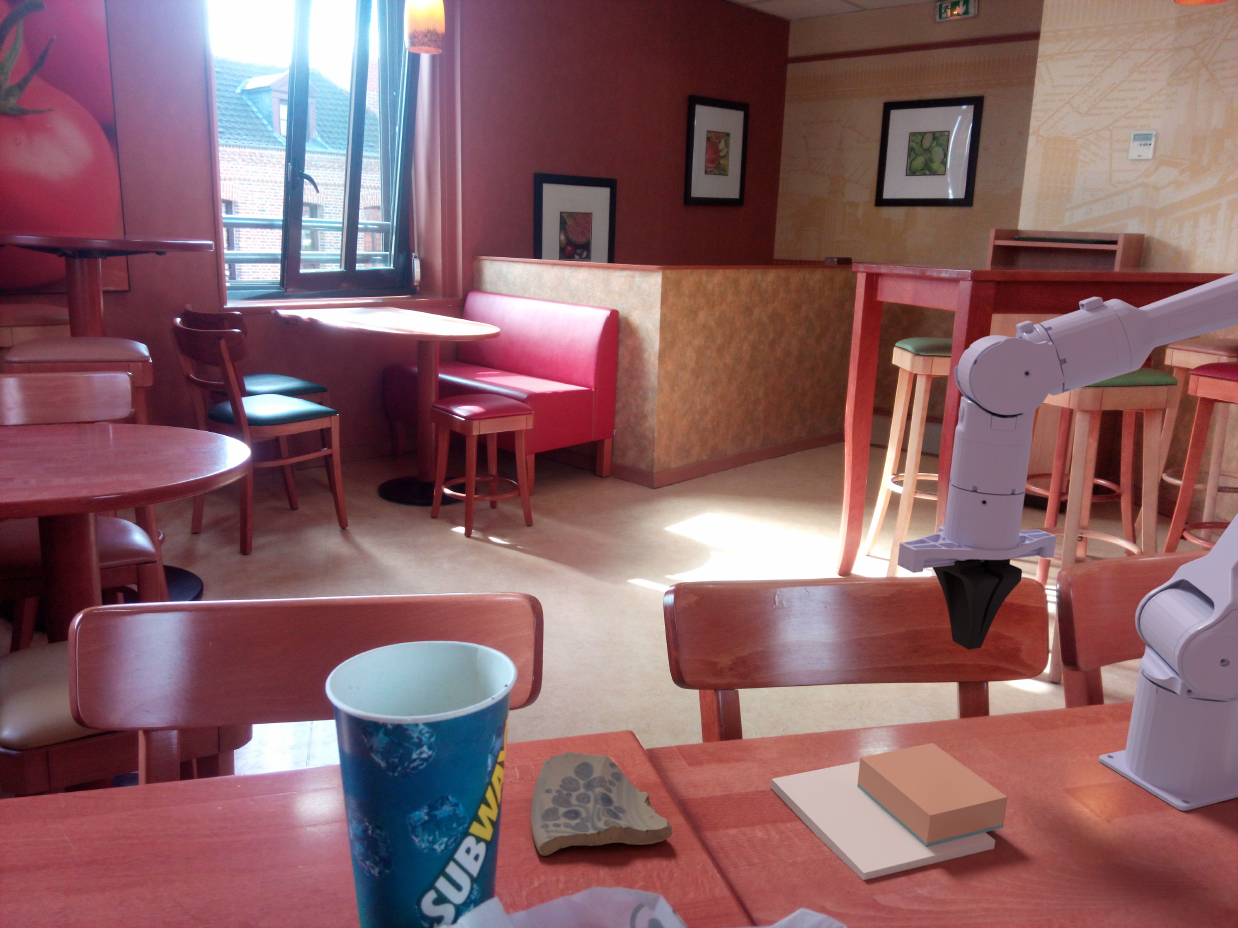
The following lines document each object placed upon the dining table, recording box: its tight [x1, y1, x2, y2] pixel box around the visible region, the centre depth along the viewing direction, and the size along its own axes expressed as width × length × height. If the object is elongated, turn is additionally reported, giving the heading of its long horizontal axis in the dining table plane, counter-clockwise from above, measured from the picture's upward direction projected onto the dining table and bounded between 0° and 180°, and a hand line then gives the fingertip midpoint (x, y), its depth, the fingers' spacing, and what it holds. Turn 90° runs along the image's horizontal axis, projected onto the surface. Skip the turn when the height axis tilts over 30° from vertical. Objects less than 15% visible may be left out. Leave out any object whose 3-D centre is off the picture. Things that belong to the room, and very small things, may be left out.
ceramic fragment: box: [530, 751, 673, 857], centre depth 68 cm, size 11×3×10 cm
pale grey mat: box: [770, 761, 996, 881], centre depth 69 cm, size 11×12×1 cm
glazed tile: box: [857, 742, 1008, 847], centre depth 69 cm, size 2×8×7 cm
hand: (966, 644), depth 77 cm, fingers closed
